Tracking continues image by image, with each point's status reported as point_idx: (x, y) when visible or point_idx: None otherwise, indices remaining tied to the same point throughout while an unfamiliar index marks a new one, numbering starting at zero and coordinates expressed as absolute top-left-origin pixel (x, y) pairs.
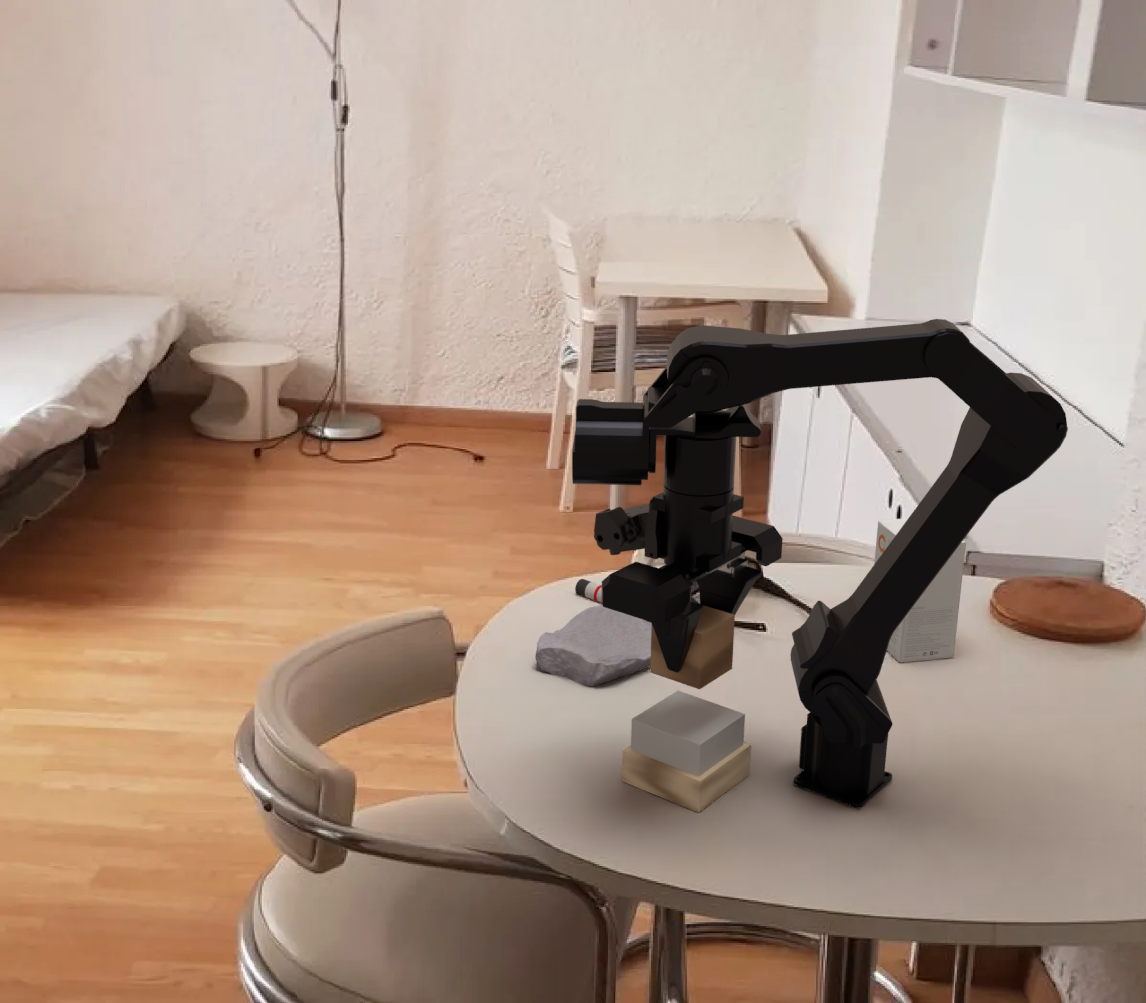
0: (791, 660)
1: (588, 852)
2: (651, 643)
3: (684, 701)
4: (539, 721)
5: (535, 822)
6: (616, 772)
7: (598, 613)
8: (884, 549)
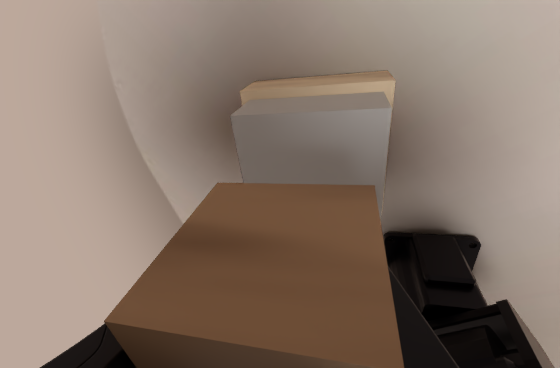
0: (478, 365)
1: (142, 147)
2: (173, 237)
3: (355, 146)
4: None
5: (119, 67)
6: (266, 57)
7: None
8: None
